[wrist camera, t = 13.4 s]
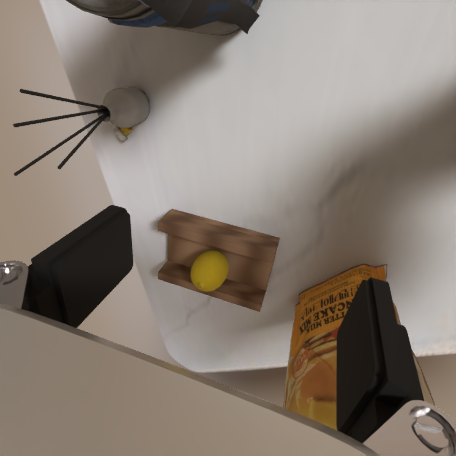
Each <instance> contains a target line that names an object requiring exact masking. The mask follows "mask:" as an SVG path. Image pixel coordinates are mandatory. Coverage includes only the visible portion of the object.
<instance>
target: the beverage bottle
mask: <svg viewBox="0 0 456 456" xmlns="http://www.w3.org/2000/svg"><path fill="white" fill-rule="evenodd" d="M66 1H68V2H69V3H71V4H72V5H74V6H76V7H77V8H79V9H81V10H83V11H86V12H89V13H92V14H95V15H99V16H102V17H105V18H108V20H109V21H110V22H111V23H114V24H117V25H124V26H132V27H152V26H158V27H165V28H172V29H178V30H185V31H192V32H199V33H205V34H212V35H226V34H231V33H233V32H235V31H238V30H239V29H242V30H243V31H244V32H245V33H248V30H249V29H250V27H251V26H252V25H253V23H254V22H255V21H256V20H257V18H258V17H259V14H258V13H257V10H258V9H259V7H260V5H261V2H262V0H66Z"/></svg>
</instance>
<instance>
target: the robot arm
mask: <svg viewBox="0 0 456 456" xmlns="http://www.w3.org/2000/svg"><path fill="white" fill-rule="evenodd" d="M31 261H32V264H31V265H29V266H27V265H26V264H25V263H23V262H20V261H5V262H0V456H456V424H455V423H454V422H453V420H452V419H451V418H450V417H449V416H448V415H447V414H446V413H444V412H443V411H442V410H440V409H439V408H438V407H436V406H434V405H432V404H430V403H428V402H425V401H424V397H423V393H422V389H421V385H420V381H419V377H418V373H417V369H416V365H415V361H414V357H413V353H412V349H411V345H410V341H409V337H408V333H407V330H406V328H405V327H404V326H403V325H399V324H398V323H397V319H396V314H395V310H394V305H393V301H392V296H391V292H390V287H389V283H388V282H386V281H383V280H379V279H376V278H372V277H370V278H369V279H368V280H362V282H361V284H360V286H359V288H358V290H357V292H356V294H355V296H354V298H353V300H352V302H351V304H350V306H349V308H348V310H347V312H346V314H345V317H344V319H343V321H342V323H341V325H340V327H339V329H338V332H337V368H336V427H337V430H338V431H337V430H335V429H333V428H331V427H328V426H326V425H324V424H322V423H320V422H317V421H315V420H313V419H310V418H308V417H305V416H303V415H300V414H298V413H295V412H293V411H290V410H288V409H285V408H283V407H281V406H278V405H276V404H273V403H271V402H268V401H266V400H263V399H260V398H258V397H255V396H253V395H250V394H247V393H245V392H242V391H240V390H237V389H235V388H232V387H229V386H227V385H224V384H222V383H219V382H216V381H214V380H211V379H209V378H206V377H204V376H201V375H199V374H196V373H193V372H190V371H188V370H185V369H183V368H180V367H178V366H175V365H172V364H169V363H167V362H165V361H162V360H159V359H157V358H154V357H151V356H149V355H146V354H144V353H141V352H138V351H136V350H133V349H130V348H128V347H125V346H122V345H120V344H117V343H114V342H112V341H109V340H106V339H104V338H101V337H98V336H96V335H93V334H90V333H88V332H85V331H82V330H80V329H77V327H78V326H79V325H80V324H81V323H82V322H83V321H84V320H85V318H87V316H88V315H89V314H90V313H91V312H92V311H93V310H94V309H95V308H96V307H97V305H99V304H100V303H101V302H102V301H103V299H104V298H105V297H106V296H107V295H108V294H109V293H110V292H111V291H112V290H113V289H114V288H115V287H116V286H117V285H118V284H119V282H120V281H121V280H122V279H123V278H124V277H125V276H126V275H127V274H128V273H129V272H130V270H131V269H132V267H133V253H132V238H131V223H130V215H129V213H127V210H126V209H125V208H122V207H118V206H114V205H111V206H109V207H107V208H106V209H104V210H103V211H101V212H100V213H98V214H97V215H95V216H94V217H92V218H91V219H90V220H88V221H87V222H85V223H84V224H82V225H81V226H79V227H78V228H76V229H75V230H73V231H72V232H70V233H69V234H68V235H66V236H65V237H63V238H61V239H60V240H59V241H57V242H56V243H54V244H53V245H51V246H50V247H48V248H47V249H46V250H44V251H42V252H41V253H39V254H38V255H36V256H35V257H33V258H32V259H31Z"/></svg>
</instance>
